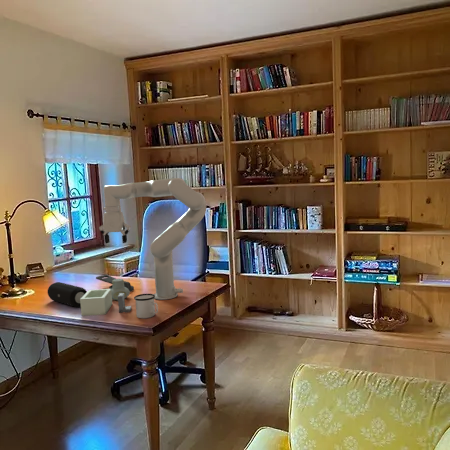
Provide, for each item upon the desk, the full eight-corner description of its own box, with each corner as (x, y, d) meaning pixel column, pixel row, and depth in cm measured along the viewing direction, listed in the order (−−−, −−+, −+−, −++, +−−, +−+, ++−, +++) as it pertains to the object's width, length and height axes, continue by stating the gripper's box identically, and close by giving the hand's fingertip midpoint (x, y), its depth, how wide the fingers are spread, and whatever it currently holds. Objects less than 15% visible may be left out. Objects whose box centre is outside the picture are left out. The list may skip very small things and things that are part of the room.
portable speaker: (46, 302, 246) (44, 283, 245) (64, 297, 253) (62, 279, 252) (73, 310, 229) (71, 290, 228) (91, 305, 237) (89, 285, 235)
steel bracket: (131, 309, 227) (130, 292, 226) (129, 312, 222) (128, 295, 221) (121, 309, 227) (119, 293, 226) (119, 312, 222) (117, 296, 221)
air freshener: (128, 295, 252) (127, 277, 250) (131, 299, 244) (129, 280, 243) (107, 298, 248) (106, 279, 247) (109, 302, 240) (107, 283, 239)
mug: (130, 317, 214) (129, 297, 213) (145, 311, 222) (144, 292, 221) (150, 321, 207) (149, 300, 206) (165, 314, 215) (163, 295, 214)
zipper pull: (106, 273, 276) (135, 278, 261) (107, 284, 277) (136, 290, 262) (94, 277, 269) (122, 282, 254) (95, 288, 270) (123, 294, 255)
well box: (112, 304, 236) (111, 288, 235) (105, 314, 220) (104, 297, 219) (90, 305, 236) (88, 290, 235) (81, 315, 220) (80, 299, 219)
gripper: (94, 210, 238) (97, 244, 241) (125, 209, 234) (128, 244, 236) (101, 209, 246) (104, 241, 248) (132, 208, 241) (134, 241, 243)
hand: (116, 242), depth 242 cm, fingers open, 9 cm apart
